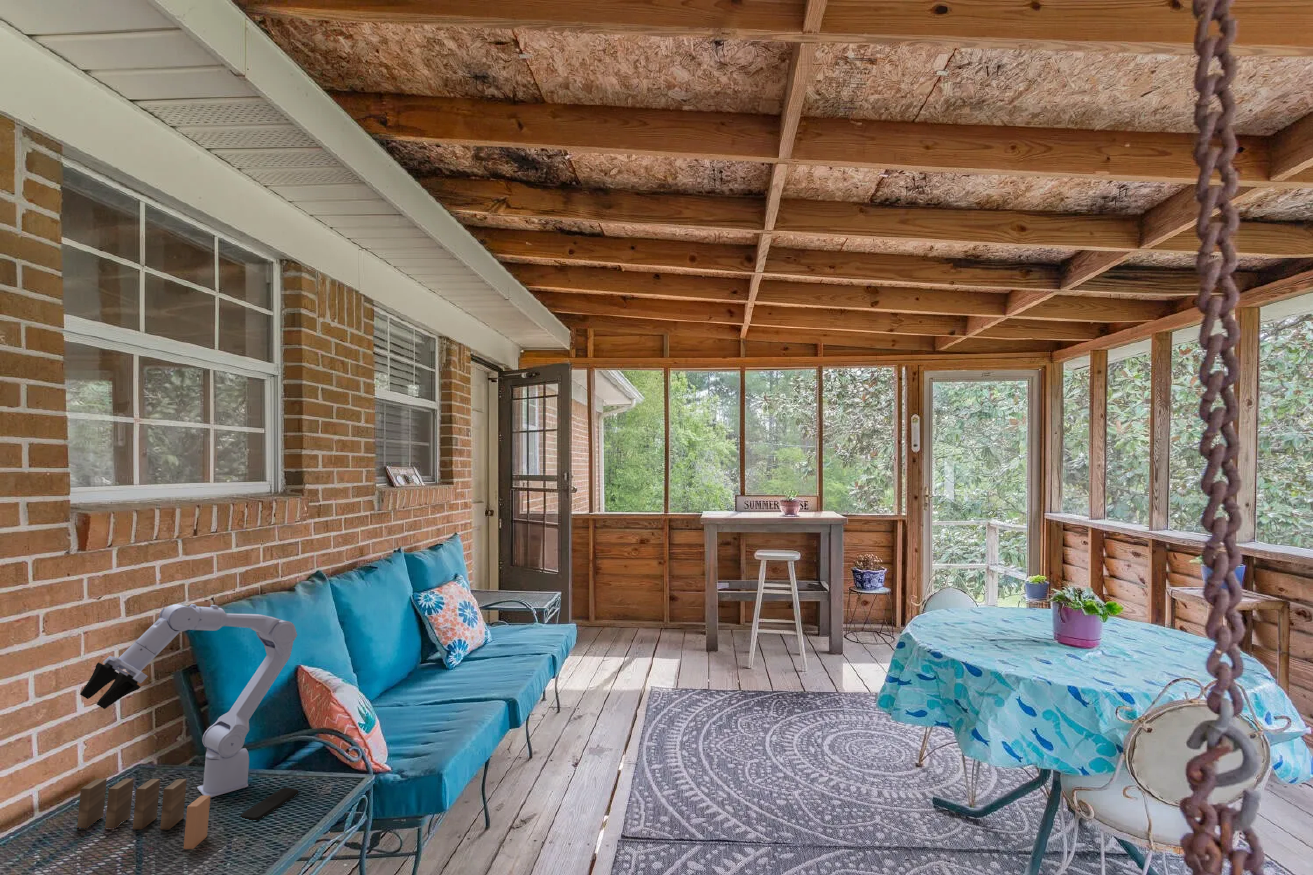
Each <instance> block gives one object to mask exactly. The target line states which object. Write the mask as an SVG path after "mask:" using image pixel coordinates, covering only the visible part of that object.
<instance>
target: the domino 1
mask: <svg viewBox="0 0 1313 875" xmlns="http://www.w3.org/2000/svg"><path fill="white" fill-rule="evenodd" d="M107 781H108V780H107V778H96V779H95V780H93V781H91V782H90V783H88V784H86V785H85V786H83V787H81V788H80V793H79V794H80V795H79V804H78V805H79V807H78V815H77V823H76V824H77V826H76V829H77V828H78V827H81V828H87V827H88V826H90V825H91V824H93V823H94V822H96V821H97V820H99V819H100V818H101V817H103V818H104V813H105V812H104V811H105V803H106V802H105V800H106V790H107ZM99 821H100V820H99ZM96 823H97V822H96ZM93 825H94V824H93ZM90 827H91V826H90ZM87 829H88V828H87Z"/></svg>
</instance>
